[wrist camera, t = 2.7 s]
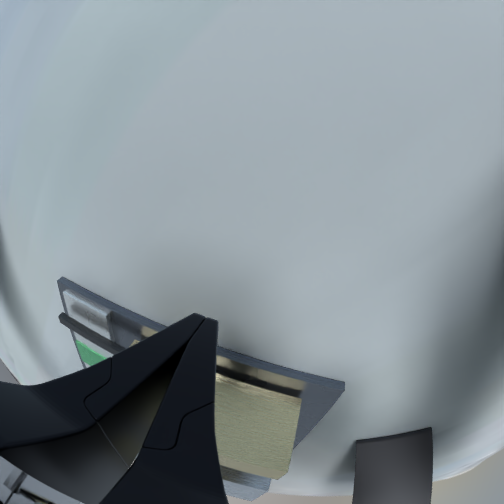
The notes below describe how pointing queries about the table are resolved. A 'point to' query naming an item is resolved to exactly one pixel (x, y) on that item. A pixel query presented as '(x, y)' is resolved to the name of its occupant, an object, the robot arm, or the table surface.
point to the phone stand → (394, 469)
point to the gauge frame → (227, 364)
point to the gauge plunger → (238, 418)
